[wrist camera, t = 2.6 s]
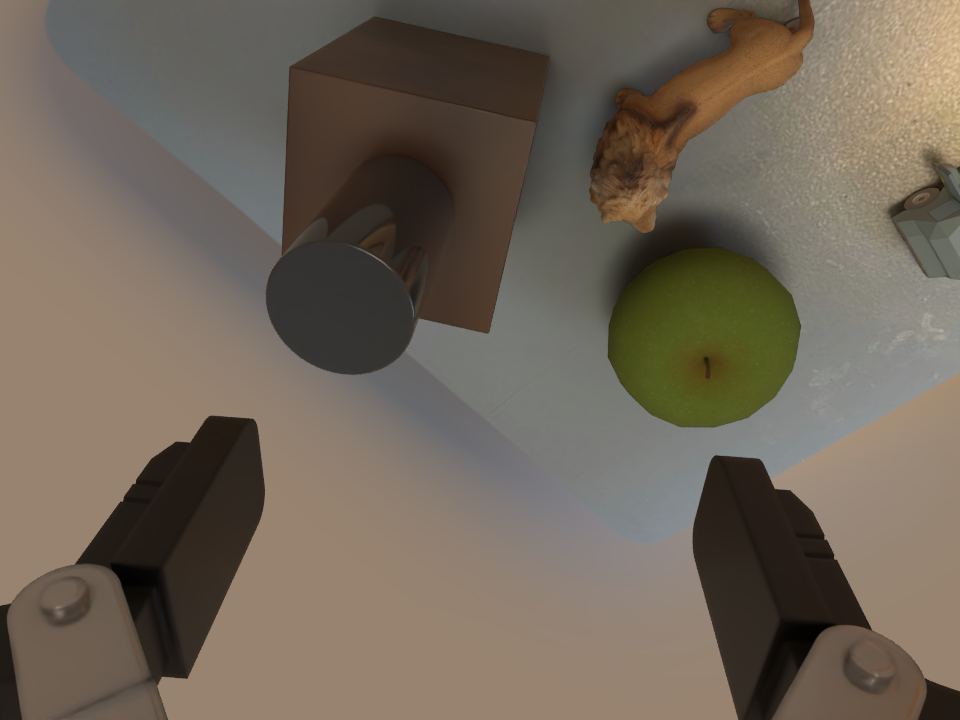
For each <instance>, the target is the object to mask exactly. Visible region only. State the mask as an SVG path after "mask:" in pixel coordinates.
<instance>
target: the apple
mask: <svg viewBox="0 0 960 720" xmlns="http://www.w3.org/2000/svg"><path fill="white" fill-rule="evenodd" d="M800 330H801V324H800V321H799V318H798V314H797V311H796V307H795V304H794V301H793V297H792V295H791V294H790V293H789V292H788V291H787V290H786V289H785V288H784V287H783V286H782V285H781V283H780V282H779V281H778V280H777V279H776V278H775V277H774V276H773V275H772V274H771V273H770V272H769V271H768V270H767V269H765V268H764V267H763V266H762V265H760V264H759V263H758V262H757V261H755V260H754V259H753V258H750V257H747V256H744V255H741V254H738V253H735V252H733V251H730V250H727V249H724V248H690V249H684V250H682V251H679V252H676V253H674V254H671V255H669V256H666V257H663V258H660V259H658V260H655V261H654V262H652V263H651V264H650V265H649V266H648V267H646V268H645V269H644V270H643V271H641V272H640V273H639V274H638V275H637V276H635V277H634V278H633V279H632V280H631V281H629V283H628V284H627V286H626V288H625V290H624V291H623V293H622V295H621V296H620V298H619V300H618V302H617V303H616V305H615V307H614V309H613V313H612V317H611V320H610V324H609V336H608V358H609V360H610V362H611V364H612V366H613V368H614V370H615V372H616V374H617V376H618V378H619V380H620V382H621V384H622V385H623V387H624V388H625V389H626V391H627V392H628V393H629V394H630V395H631V396H632V397H633V398H634V399H635V400H636V401H637V402H638V403H639V404H640V405H641V406H642V407H643V408H644V409H645V410H646V411H648V412H649V413H650V414H651V415H653V416H655V417H658V418H660V419H662V420H665V421H667V422H669V423H672V424H674V425H676V426H679V427H718V426H721V425H725V424H728V423H732V422H735V421H738V420H742V419H745V418H748V417H750V416H751V415H752V414H754V413H755V412H756V411H757V410H759V409H760V408H761V407H763V406H764V405H765V404H767V403H768V402H769V401H771V400H772V399H773V398H774V397H775V396H776V395H777V393H778V392H779V390H780V388H781V387H782V385H783V384H784V382H785V381H786V379H787V378H788V376H789V375H790V373H791V372H792V369H793V366H794V363H795V359H796V354H797V348H798V342H799V336H800Z"/></svg>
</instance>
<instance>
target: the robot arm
mask: <svg viewBox="0 0 960 720" xmlns="http://www.w3.org/2000/svg"><path fill="white" fill-rule="evenodd" d="M264 497H265V486H264V477H263V469H262V461H261V453H260V444H259V435H258V428H257V424H256V422H255V420H254V419H249V418H248V419H247V418H236V417H223V416H209V417H208V418H207V419H206V420H205V421H204V423H203V425H202V426H201V427H200V429H199V430H198V432H197V433H196V435H195V436H194V438H193V439H192V441H191V442H190V443H187V442H175V443H174V444H172V445H171V446H170V447H168V448H166V449H165V450H163V451H162V452H161V453H159V454H158V455H156V456H155V457H153V458H152V459H151V460H150V461H149V463H148V464H147V466H146V467H145V468H144V470H143V471H142V473H141V474H140V475H139V477H138V478H137V480H136V484H133V485H132V486H131V488H130V489H129V491H128V492H127V493H126V495H125V496H124V500H123V502H120V503H119V504H118V506H117V507H116V508H115V510H114V511H113V513H112V514H111V515H110V517H109V518H108V519H107V521H106V522H105V524H104V525H103V526H102V528H101V529H100V531H99V532H98V533H97V535H96V536H95V537H94V539H93V540H92V542H91V543H90V545H89V546H88V547H87V548H86V550H85V551H84V553H83V554H82V555H81V557H80V558H79V559H78V561H77V562H76V564H75V565H70V566H65V567H62V568H59V569H56V570H53V571H51V572H48V573H46V574H44V575H43V576H41V577H39V578H37V579H36V580H34V581H32V582H31V583H30V584H29V585H28V586H26V587H25V588H24V589H23V590H22V591H21V592H20V593H19V594H18V595H17V596H16V598H15V599H14V600H13V602H12V603H11V604H7V605H2V606H0V720H168V718H167V715H166V712H165V709H164V706H163V703H162V700H161V697H160V694H159V691H158V688H157V685H158V683H159V681H160V679H161V677H174V678H186V679H187V678H188V676H189V674H190V672H191V670H192V667H193V665H194V663H195V661H196V659H197V657H198V654H199V652H200V650H201V648H202V646H203V644H204V641H205V639H206V637H207V635H208V633H209V631H210V628H211V626H212V624H213V622H214V620H215V617H216V615H217V613H218V611H219V609H220V607H221V604H222V602H223V600H224V598H225V596H226V594H227V591H228V589H229V587H230V585H231V583H232V580H233V578H234V576H235V574H236V572H237V570H238V567H239V565H240V563H241V561H242V559H243V556H244V554H245V552H246V550H247V548H248V545H249V543H250V541H251V539H252V537H253V535H254V533H255V530H256V528H257V526H258V524H259V521H260V518H261V515H262V511H263V506H264ZM693 553H694V558H695V562H696V566H697V570H698V573H699V577H700V581H701V584H702V588H703V591H704V595H705V599H706V603H707V606H708V610H709V614H710V617H711V621H712V624H713V628H714V632H715V635H716V639H717V643H718V647H719V650H720V654H721V657H722V661H723V665H724V669H725V672H726V676H727V680H728V683H729V687H730V690H731V694H732V698H733V702H734V705H735V709H736V713H737V716H738V720H960V691H957V690H954V689H951V688H948V687H945V686H942V685H939V684H937V683H934V682H932V681H929V680H927V679H925V678H924V676H923V674H922V672H921V670H920V668H919V667H918V665H917V664H916V663H915V661H914V660H913V659H912V658H911V656H910V655H909V654H908V653H906V651H904V650H903V649H902V648H901V647H900V646H899V645H897V644H895V643H894V642H893V641H892V640H890V639H888V638H886V637H885V636H883V635H881V634H879V633H877V632H875V631H872V629H871V627H870V625H869V623H868V621H867V619H866V617H865V615H864V613H863V611H862V609H861V607H860V605H859V603H858V601H857V599H856V597H855V595H854V593H853V591H852V589H851V587H850V585H849V583H848V581H847V579H846V577H845V575H844V573H843V571H842V569H841V567H840V565H839V563H838V561H837V560H834V554H833V551H832V549H831V547H830V545H829V543H828V541H827V540H825V539H824V533H823V531H822V529H821V527H820V525H819V523H818V521H817V520H816V517H815V516H814V513H813V512H812V511H811V510H810V509H809V508H808V507H807V506H806V505H805V504H804V503H803V502H802V501H801V500H800V499H799V498H798V497H797V496H796V495H795V494H793V493H792V492H791V491H790V490H779V489H775V488H774V486H773V484H772V482H771V480H770V477H769V475H768V473H767V471H766V469H765V466H764V464H763V462H762V461H761V460H760V459H756V458H743V457H730V456H717V455H716V456H714V457H713V458H712V460H711V462H710V465H709V468H708V472H707V476H706V480H705V483H704V487H703V491H702V495H701V499H700V502H699V506H698V510H697V514H696V517H695V522H694V527H693Z"/></svg>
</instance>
